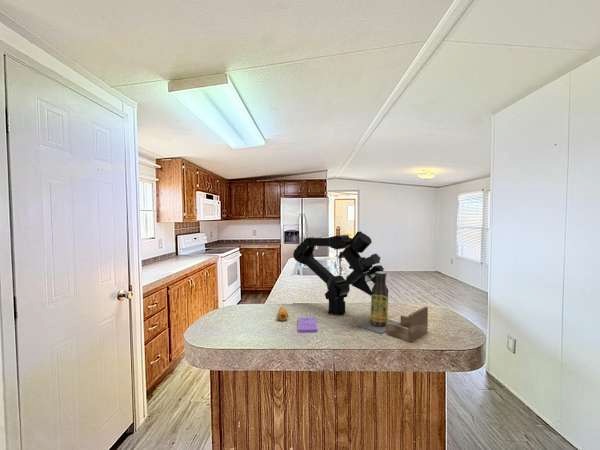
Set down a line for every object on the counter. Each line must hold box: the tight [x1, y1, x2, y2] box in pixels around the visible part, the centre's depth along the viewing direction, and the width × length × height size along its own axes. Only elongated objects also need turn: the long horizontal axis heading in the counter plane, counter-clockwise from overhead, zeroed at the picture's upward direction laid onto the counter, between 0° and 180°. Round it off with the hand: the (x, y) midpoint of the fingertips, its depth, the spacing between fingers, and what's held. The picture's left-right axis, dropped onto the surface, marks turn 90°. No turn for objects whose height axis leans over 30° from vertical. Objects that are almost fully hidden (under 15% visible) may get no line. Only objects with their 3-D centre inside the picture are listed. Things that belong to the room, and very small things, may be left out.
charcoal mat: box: [357, 318, 401, 335], centre depth 115 cm, size 10×14×1 cm
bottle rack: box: [385, 306, 429, 343], centre depth 107 cm, size 10×12×9 cm
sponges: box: [297, 316, 318, 334], centre depth 115 cm, size 7×13×2 cm, turn 0°
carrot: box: [277, 305, 289, 321], centre depth 129 cm, size 20×4×4 cm, turn 5°
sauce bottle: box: [370, 271, 389, 326], centre depth 114 cm, size 7×6×20 cm
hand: (378, 292), depth 115 cm, fingers open, 9 cm apart
